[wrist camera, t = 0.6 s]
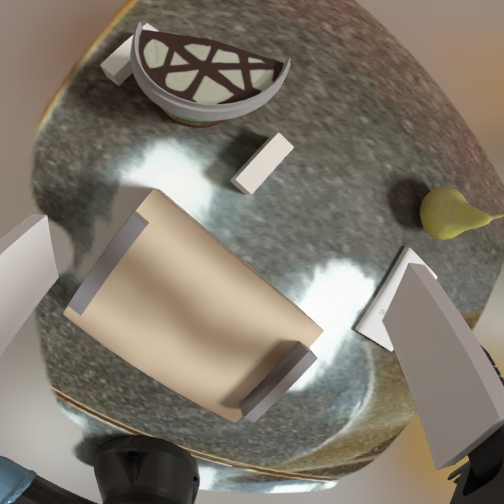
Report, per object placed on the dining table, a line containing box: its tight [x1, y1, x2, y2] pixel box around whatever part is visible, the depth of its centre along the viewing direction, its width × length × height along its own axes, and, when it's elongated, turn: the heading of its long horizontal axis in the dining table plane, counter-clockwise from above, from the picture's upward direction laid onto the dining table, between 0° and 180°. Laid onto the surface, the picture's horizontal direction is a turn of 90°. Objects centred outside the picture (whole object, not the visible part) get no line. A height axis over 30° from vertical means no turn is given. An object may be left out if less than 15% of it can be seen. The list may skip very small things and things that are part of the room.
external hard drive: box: [355, 246, 437, 352], centre depth 37 cm, size 2×8×12 cm
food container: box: [130, 22, 291, 128], centre depth 22 cm, size 12×6×10 cm, turn 76°
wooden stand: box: [63, 189, 324, 423], centre depth 26 cm, size 12×18×10 cm, turn 48°
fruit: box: [420, 187, 504, 239], centre depth 30 cm, size 7×8×12 cm
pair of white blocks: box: [100, 23, 294, 195], centre depth 26 cm, size 6×19×3 cm, turn 48°
